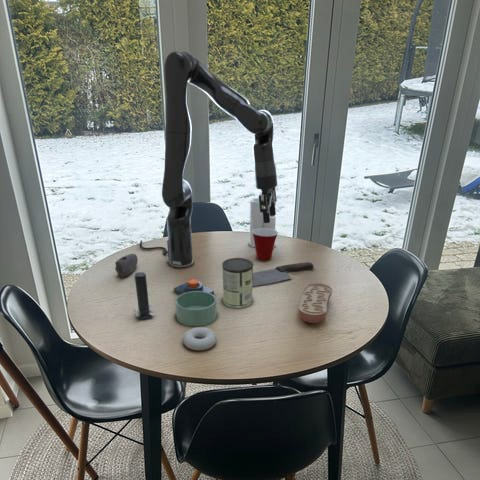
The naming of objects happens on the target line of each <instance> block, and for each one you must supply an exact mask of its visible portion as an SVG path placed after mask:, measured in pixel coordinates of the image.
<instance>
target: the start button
mask: <svg viewBox="0 0 480 480" xmlns="http://www.w3.org/2000/svg"><path fill="white" fill-rule="evenodd" d="M198 281H199V280H198V279H197V278H193V279H189V280H188V281H187V282H188V286H189V287H192V288H194V287H198V286H199V283H198Z"/></svg>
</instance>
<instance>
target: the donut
mask: <svg viewBox="0 0 480 480" xmlns="http://www.w3.org/2000/svg"><path fill="white" fill-rule="evenodd" d="M182 342H183V344H184V346H185V347H186V348H188V349H190V350H193V351H206V350H209V349H211V348H212V347H214V345H215V344H216V343H217V334H216V333H215V331H214V330H213V329H210V328H209V327H203V326H195V327H193V328H190V329H188V330H186V331H185V333H184V334H183V336H182Z"/></svg>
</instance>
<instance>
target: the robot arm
mask: <svg viewBox="0 0 480 480" xmlns="http://www.w3.org/2000/svg"><path fill="white" fill-rule="evenodd" d="M163 72H164V73H163V74H164V75H163V77H164V89H165V90H164V91H165V120H164V159H163V161H164V163H163V167H164V168H163V177H162V185H161V198H162V202H163V204H164V205H165V206H166V207H168V208H169V211H168V213H167V215H166V227H167V229H166V230H167V240H166V245H167V246H166V247H167V249H166V247H164V246H153V247H144V246H143V240H140V242H139V247H140V249H142V250H146V251H147V250H150V251H151V250H157V249H158V250H159V249H161V250H164V251H163V255H164V256H165V255H167V259H168V263H169V266H171V267H173V268H175V269H177V268H178V269H184V268H185V269H186V268H188V267H191V266H193V264H194V260H193V259H194V257H193V236H192V215H193V191H192V188H191V187H192V186H191V185H190V184H189V181H187V180H185V179H184V170H185V167H186V163H187V160H188V157H189V153H190V149H191V145H192V120H191V117H190V113H189V108H188V103H187V102H188V101H187V93H188V92H187V91H188V84H190V85H192V86H194V87H197V88H198V89H199V90H201V91H203V92H204V93H205V94H206V95H207V96H208V97H209V98H210V99H211V100H212V101H213V103H214V104H215V105H216V106H218V107H219V108H220V109H221V110H223V112H225V113H226V114H228V115H229V116H231V117H232V118H234V119H236V121H237V122H238V123H239V124H240V125H241V126H242V127H243V128H244V129H245V130H246V131H248V132H249V133H251V134H253V135H254V143H253V145H252V156H253V171H254V172H253V173H254V180H255V181H254V182H255V188H256V189H257V190H260V191H261V193H260V194H259V195H258V198H259V205H260V212H262V213H263V220H264V223H269V222H270V216H276V215H277V210H276V204H277V201H278V199H277V192H276V187H277V186H278V178H277V177H278V176H277V166H276V161H275V153H274V144H273V143H274V119H273V116H272V114H271V113H270V112H269V111H268V110H265V109H260V110H258V109H256V108H255V107H254V106H253V105H251V104H250V102H249V100H248V99H247V98H246V97H244V96H243V95H242V94H241V93H239V92H237V91H236V90H235V89H234V88H232V87H230V86H229V85H228V84H227V83H225V82H224V81H222V80H221V79H219V78H218V77H217V76H215V75H214V74H213V73H212V72H211V71H210V70H209V69H208V68H206V66H204V64H203V63H202V62H200V61H199V59H198V58H197V57H195V55H193V54H192V53H191V52H190V51H185V50H179V51H178V50H174V51H171V52H170V53H169V54H168V55H166V58H165V60H164V65H163ZM263 201H264V202H263ZM264 207H265V209H264ZM269 213H270V215H269Z"/></svg>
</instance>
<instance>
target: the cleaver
mask: <svg viewBox="0 0 480 480" xmlns="http://www.w3.org/2000/svg"><path fill="white" fill-rule="evenodd" d="M312 269H314V264H313V262H311V261H309V262H297V263H290V264H289V263H288V264H283V265H278V266H276V267H274V268H270V269H265V270H260V271H256V272H253V277H252V287H257V286H264V285H269V284H274V283H278V282H282V281H287V280H289V279H291V278H292V277H291V276H290V274H289V273H287V272H298V271H302V270H312Z"/></svg>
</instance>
